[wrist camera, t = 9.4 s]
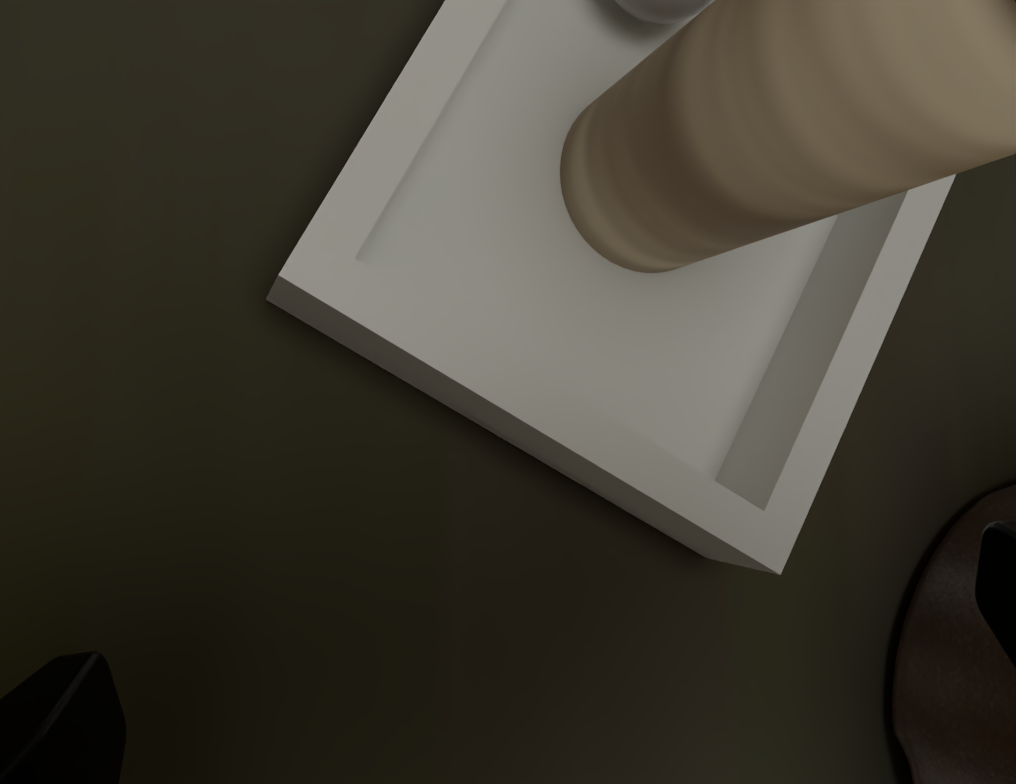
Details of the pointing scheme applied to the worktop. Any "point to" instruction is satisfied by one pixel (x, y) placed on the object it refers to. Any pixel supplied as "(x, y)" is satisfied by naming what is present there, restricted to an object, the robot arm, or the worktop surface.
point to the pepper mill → (787, 121)
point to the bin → (595, 289)
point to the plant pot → (956, 666)
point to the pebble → (663, 9)
